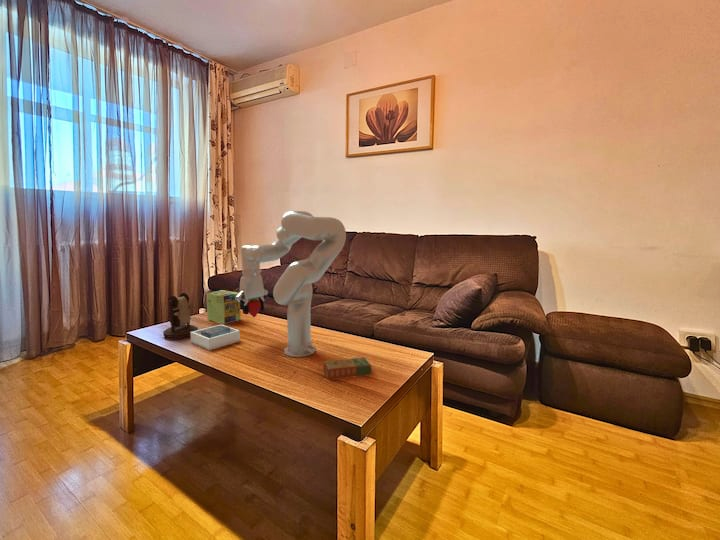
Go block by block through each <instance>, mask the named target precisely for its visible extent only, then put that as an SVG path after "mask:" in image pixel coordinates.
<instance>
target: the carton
mask: <svg viewBox="0 0 720 540" xmlns="http://www.w3.org/2000/svg"><path fill="white" fill-rule="evenodd" d="M323 371H324V374H325V376H327V377H326V379H327V381H328V380H329V381H330V379H332V380H339V379H338V378H341V379H346V378H345V377H350V378H354V377H353V376H358V377H362V376H361V375H367V376H371V375H372V373H373V372H372V364H371V363H370V362H369V361H368V360H367V358H366V357H365V356H364V357H355V358H354V357H352V358H343V359H341V358H340V359H333V360H330V359H329V360H324V361H323ZM370 374H371V375H370Z"/></svg>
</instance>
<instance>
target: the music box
mask: <svg viewBox="0 0 720 540" xmlns="http://www.w3.org/2000/svg"><path fill="white" fill-rule="evenodd" d="M189 302H190V296H189V295H188V294H187V293H185V292H182V293H180V294H179V296H178V297H177V296H175V295H171V296H169V298H168V299H167V303H168V305H169V311H168V314H169V316H170V317H169V324H170V327H168V328H166V329H165V330H164V331H163V337H164V336H166V337H165V338H180V340H183V338H184V337H187V336H191V333H190V332H193V331H197V330H199V328H198V326H196V325H193V324H191V318H192V317H191V314H190V308H191V306H190V305H189V304H190V303H189ZM175 313H179V316H178V315H177V314H175Z"/></svg>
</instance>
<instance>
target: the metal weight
mask: <svg viewBox="0 0 720 540" xmlns="http://www.w3.org/2000/svg"><path fill="white" fill-rule="evenodd" d="M219 325H220V326H217V325H215V326H216V327H213V326H212V327H213V328H209V327H208V328H209V329H206V330H203V331H201V335H202V336H205V337H207V338H212V337H216V336H219V335H223V334H227V333H230V326H228V327H226V326H227V325H225V326H221V324H219Z"/></svg>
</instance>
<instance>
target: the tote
mask: <svg viewBox="0 0 720 540" xmlns="http://www.w3.org/2000/svg"><path fill="white" fill-rule="evenodd" d="M220 325H221V326H226V327H230V326H227V325H226V324H225V325H224V324H221V323H220V324H218V325H217V324H216V325H214V326H208V327H206V328H202V329H198V330H197V331H193V332H190V333H191V335H190V344H193V345H195V346H197V345H198V347H200V348H202V349H204V348H205V350H206V351H212V349H213V350H215V349H220V348H222V347H225V346H228V345H231V344H234V343H239V342H241V335H240V334H241V330H239V329H237V328H233V327H230V333H227V334H223V335H219V336H216V337H212V338H207V337H205V336H202V335H201V331H203V330H206V329H209V328H213V327H216V326H220Z"/></svg>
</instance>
